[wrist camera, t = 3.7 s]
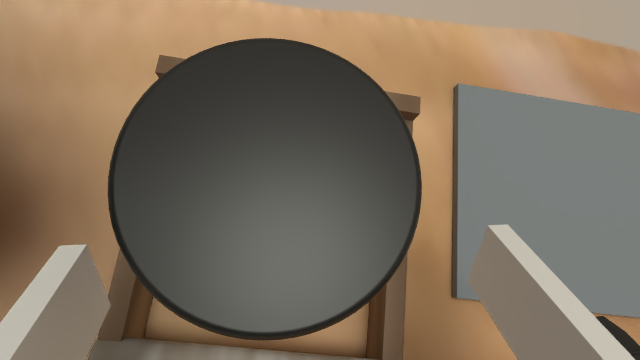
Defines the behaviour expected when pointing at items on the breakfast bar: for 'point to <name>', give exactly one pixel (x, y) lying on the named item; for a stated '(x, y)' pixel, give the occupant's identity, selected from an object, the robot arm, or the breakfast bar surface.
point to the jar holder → (170, 356)
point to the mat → (550, 190)
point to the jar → (264, 189)
